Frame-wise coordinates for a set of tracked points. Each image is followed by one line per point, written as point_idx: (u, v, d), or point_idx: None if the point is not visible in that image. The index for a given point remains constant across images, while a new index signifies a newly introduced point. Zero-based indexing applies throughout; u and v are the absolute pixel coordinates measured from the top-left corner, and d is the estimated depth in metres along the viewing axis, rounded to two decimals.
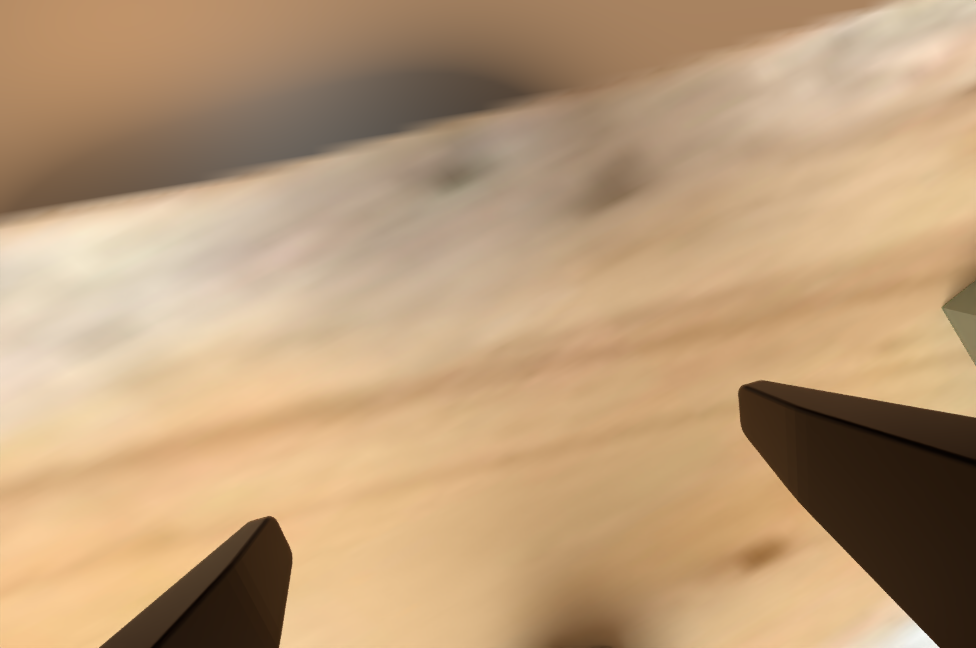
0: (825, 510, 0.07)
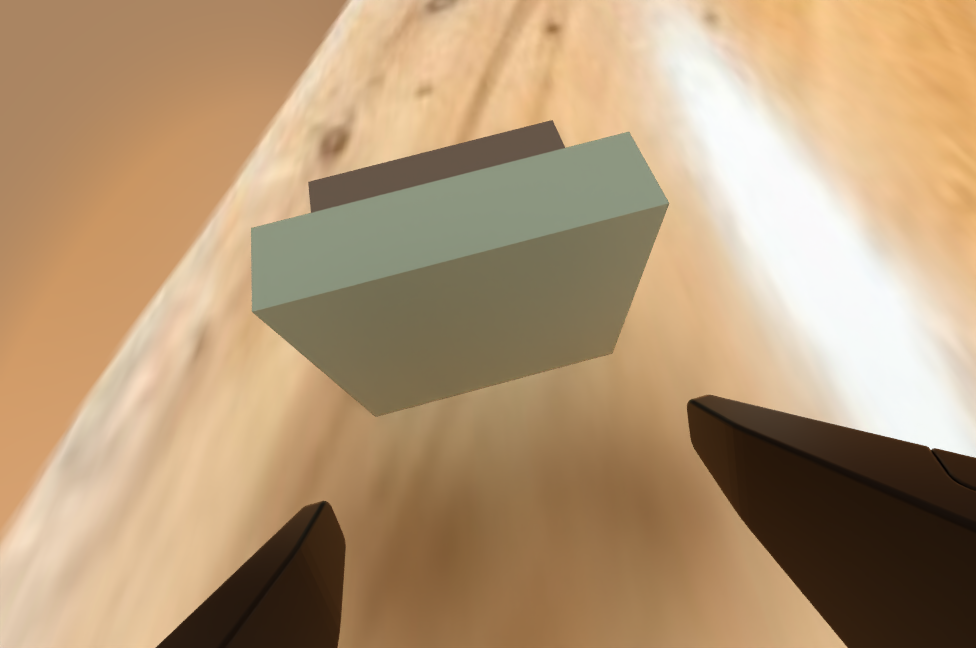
0: (763, 528, 0.07)
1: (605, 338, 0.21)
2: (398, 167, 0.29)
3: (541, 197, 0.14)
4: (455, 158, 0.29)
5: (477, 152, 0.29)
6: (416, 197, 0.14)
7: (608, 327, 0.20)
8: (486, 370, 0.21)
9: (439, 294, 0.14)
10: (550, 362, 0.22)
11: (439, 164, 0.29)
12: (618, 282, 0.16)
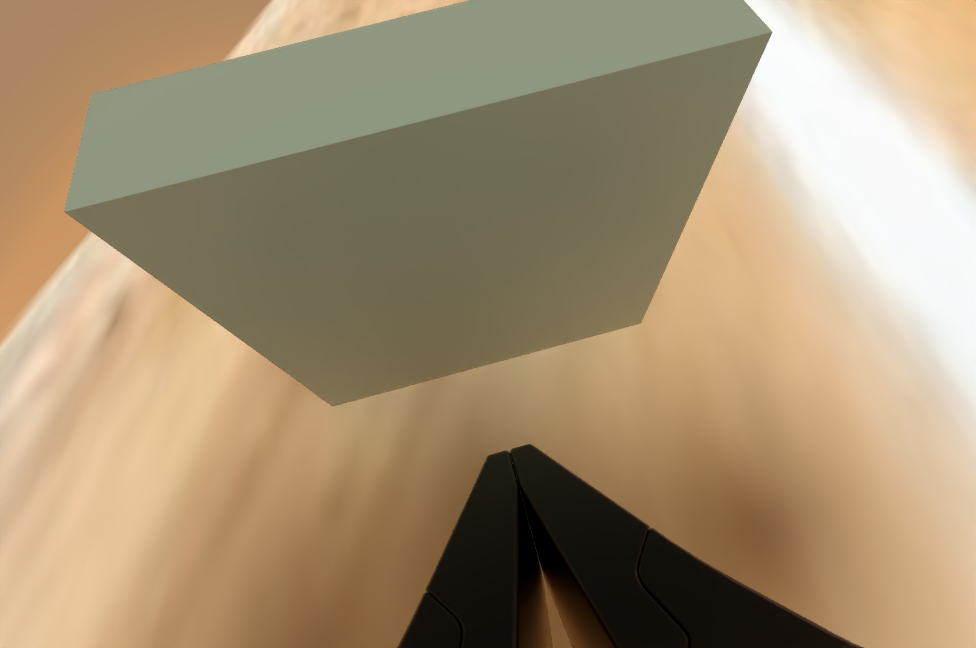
0: (551, 588, 0.07)
1: (636, 298, 0.16)
2: None
3: (556, 33, 0.08)
4: None
5: None
6: (355, 42, 0.09)
7: (641, 281, 0.15)
8: (476, 342, 0.15)
9: (393, 202, 0.09)
10: (561, 334, 0.17)
11: None
12: (666, 201, 0.11)
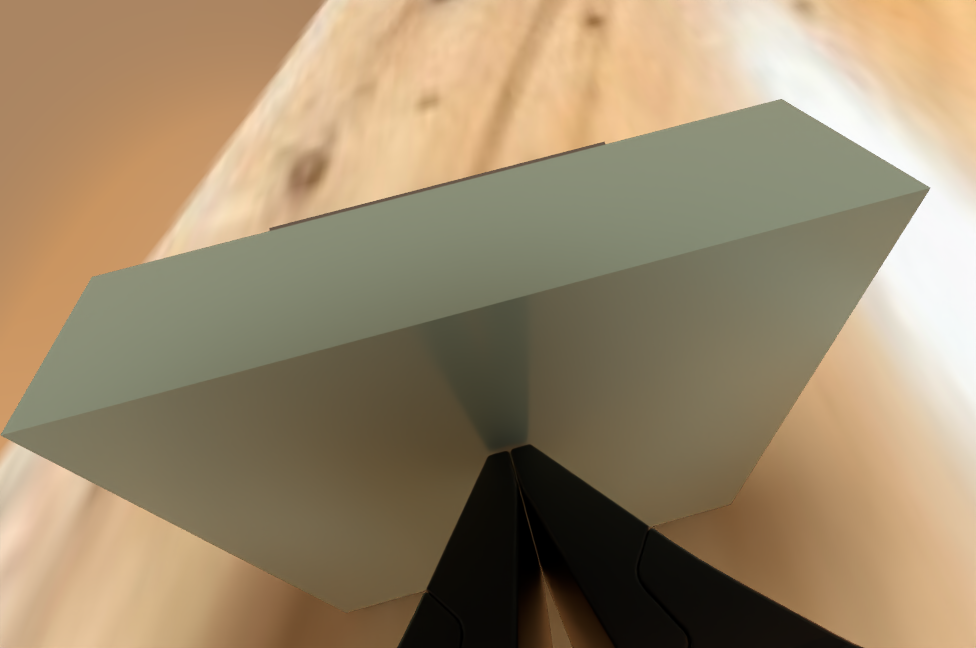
0: (551, 588, 0.07)
1: (728, 479, 0.12)
2: None
3: (637, 197, 0.07)
4: None
5: None
6: (394, 214, 0.07)
7: (736, 461, 0.12)
8: None
9: (432, 398, 0.07)
10: None
11: None
12: (775, 377, 0.09)
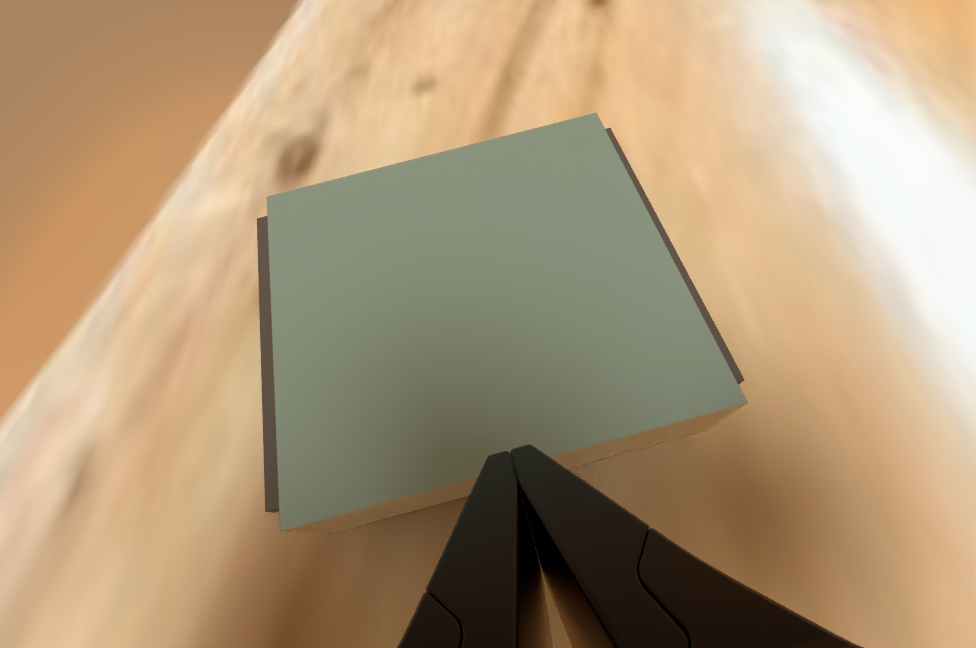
0: (551, 588, 0.07)
1: (685, 331, 0.13)
2: None
3: None
4: None
5: None
6: None
7: (665, 296, 0.13)
8: (487, 386, 0.12)
9: (413, 195, 0.16)
10: (612, 398, 0.12)
11: None
12: (612, 200, 0.15)
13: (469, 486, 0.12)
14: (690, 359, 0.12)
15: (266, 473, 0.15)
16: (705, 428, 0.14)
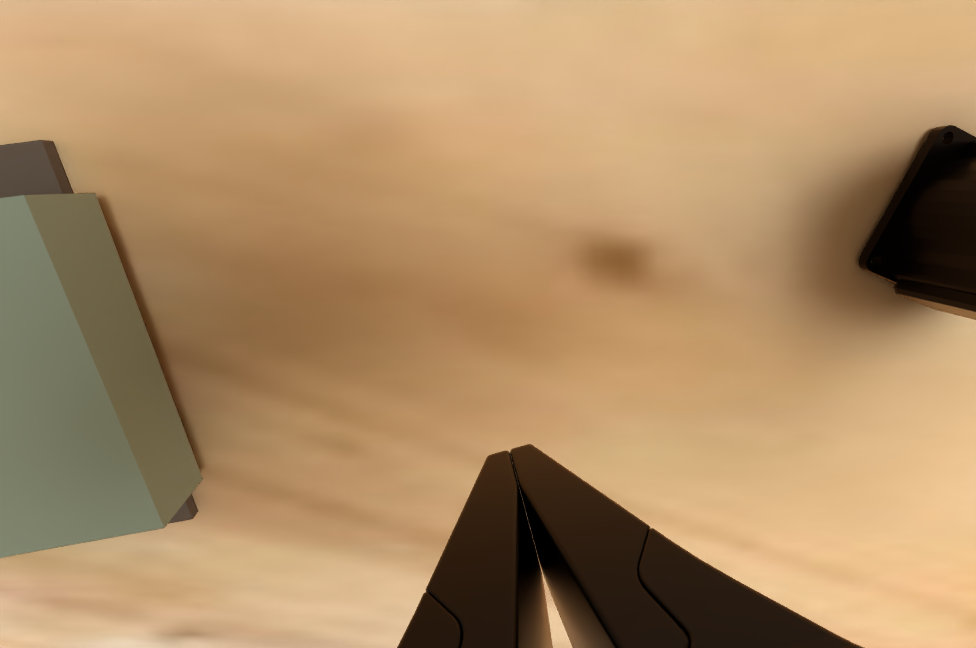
0: (551, 588, 0.07)
1: None
2: None
3: None
4: None
5: None
6: None
7: None
8: (35, 398, 0.15)
9: None
10: (34, 304, 0.14)
11: None
12: None
13: (139, 401, 0.17)
14: None
15: None
16: (88, 199, 0.16)
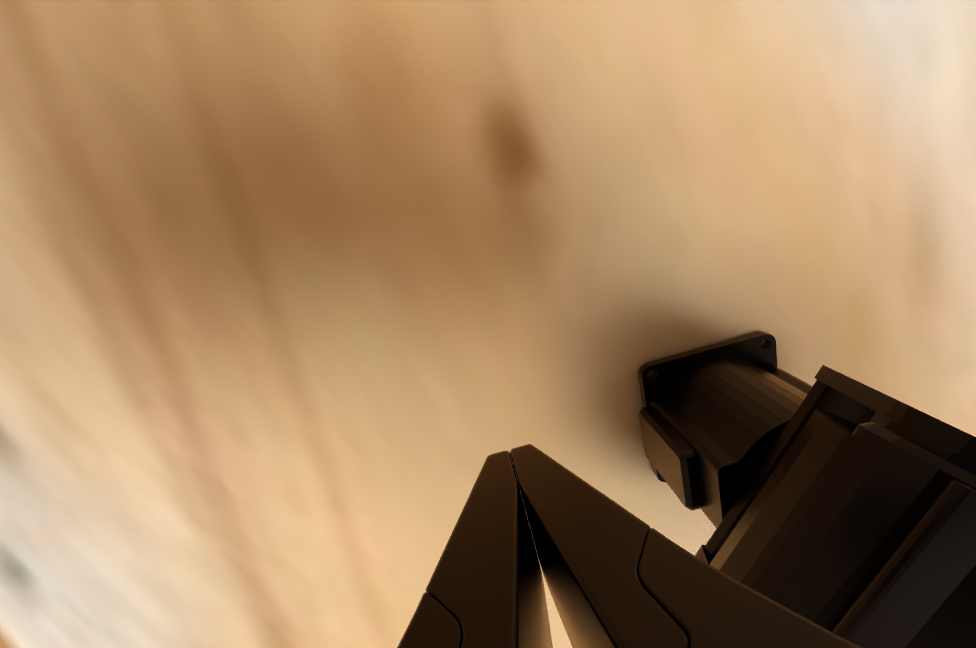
0: (551, 588, 0.07)
1: None
2: None
3: None
4: None
5: None
6: None
7: None
8: None
9: None
10: None
11: None
12: None
13: None
14: None
15: None
16: None
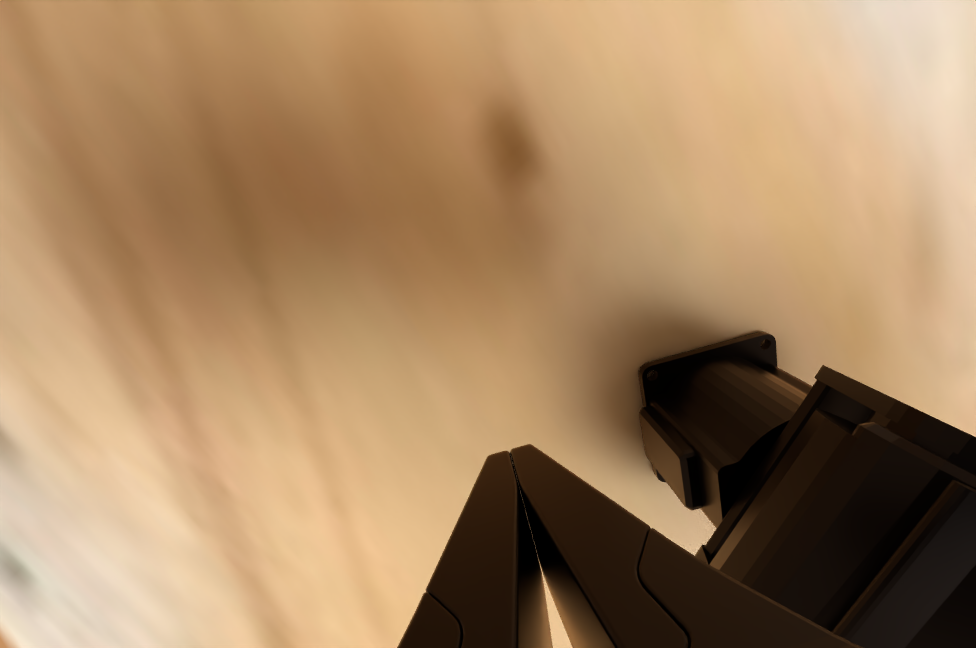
0: (551, 588, 0.07)
1: None
2: None
3: None
4: None
5: None
6: None
7: None
8: None
9: None
10: None
11: None
12: None
13: None
14: None
15: None
16: None
